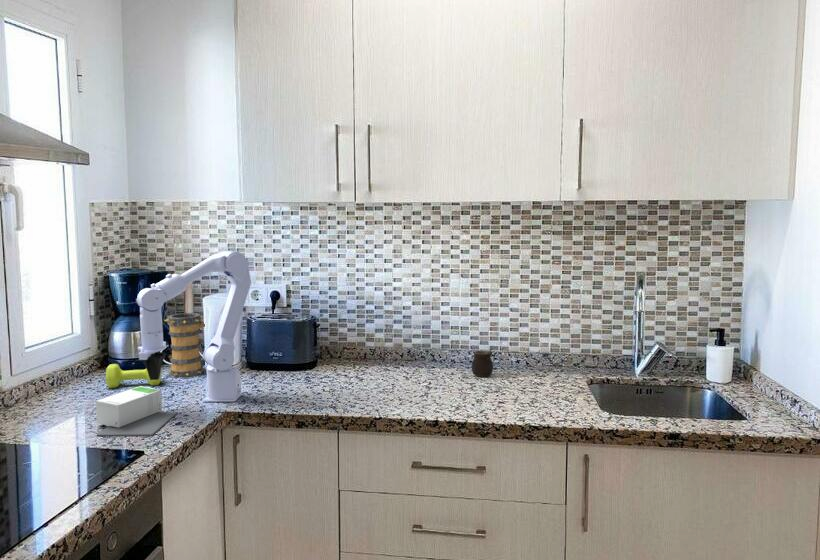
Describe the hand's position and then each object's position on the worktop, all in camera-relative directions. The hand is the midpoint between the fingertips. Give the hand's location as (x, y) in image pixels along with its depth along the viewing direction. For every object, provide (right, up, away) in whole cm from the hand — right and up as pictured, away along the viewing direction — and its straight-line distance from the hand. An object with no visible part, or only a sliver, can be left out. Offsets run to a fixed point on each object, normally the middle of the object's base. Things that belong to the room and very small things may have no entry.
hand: (154, 379), depth 194 cm
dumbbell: (-16, -6, +27) cm, 32 cm away
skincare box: (-1, -6, 0) cm, 6 cm away
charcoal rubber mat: (0, -10, -11) cm, 15 cm away
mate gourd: (+96, -4, +34) cm, 102 cm away
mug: (-2, -4, +42) cm, 42 cm away
